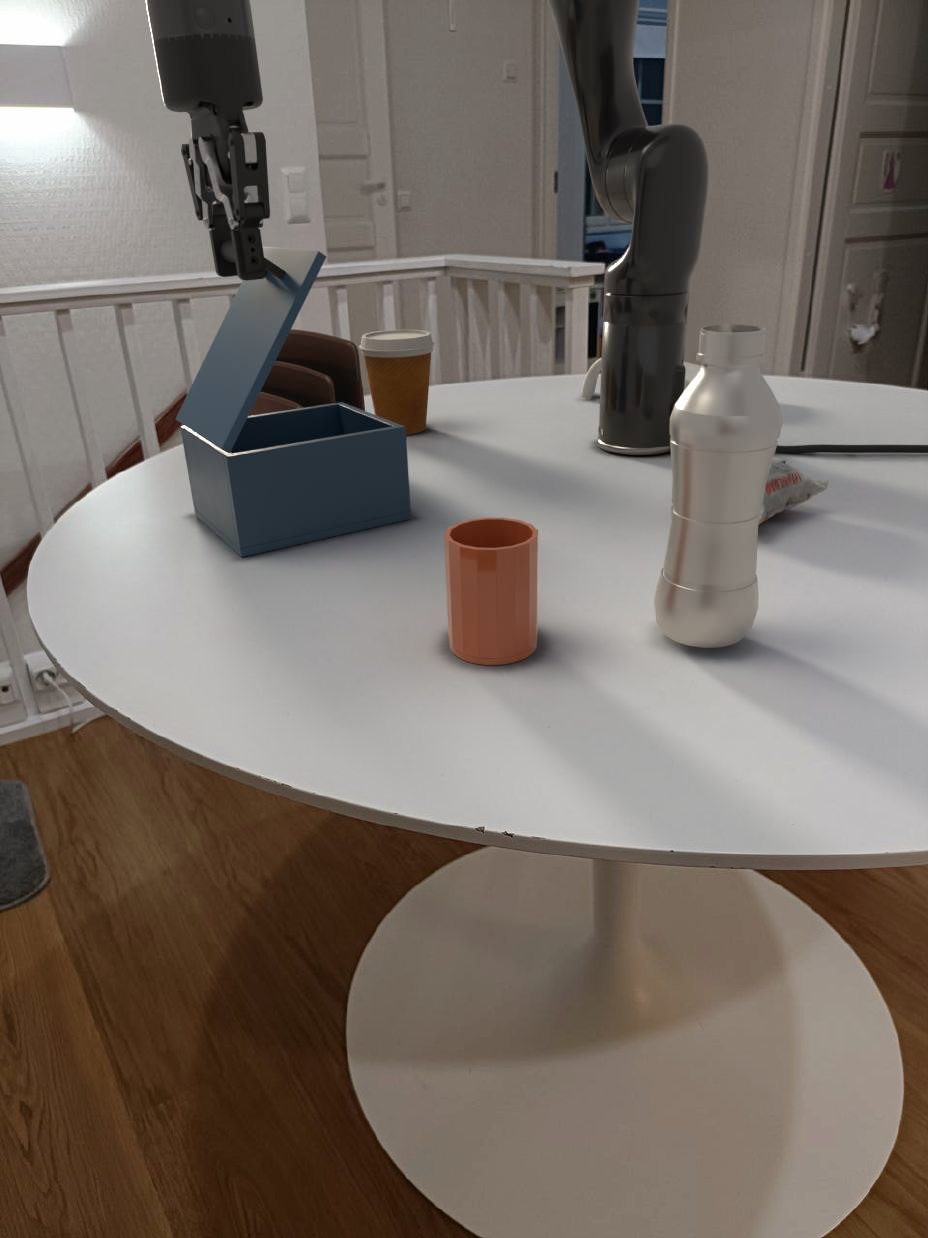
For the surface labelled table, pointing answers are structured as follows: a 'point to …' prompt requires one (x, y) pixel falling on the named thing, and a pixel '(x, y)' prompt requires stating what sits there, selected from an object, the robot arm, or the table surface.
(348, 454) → the dark blue rectangular box
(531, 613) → the cup
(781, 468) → the packaged food
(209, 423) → the lid
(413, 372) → the disposable coffee cup
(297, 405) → the letter holder
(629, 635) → the table surface
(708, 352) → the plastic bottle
